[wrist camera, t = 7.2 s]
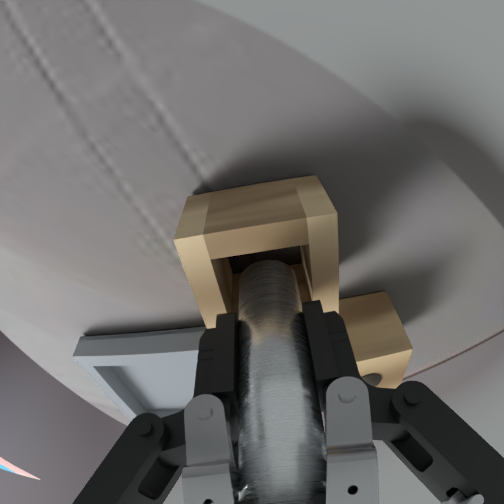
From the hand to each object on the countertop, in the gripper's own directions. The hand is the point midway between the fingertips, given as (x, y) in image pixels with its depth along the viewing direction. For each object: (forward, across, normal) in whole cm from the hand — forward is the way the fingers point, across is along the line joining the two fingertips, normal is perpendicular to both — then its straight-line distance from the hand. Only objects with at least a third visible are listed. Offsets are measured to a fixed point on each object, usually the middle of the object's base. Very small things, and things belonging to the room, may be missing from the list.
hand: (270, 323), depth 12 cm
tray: (+6, +9, +12) cm, 16 cm away
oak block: (+6, 0, 0) cm, 6 cm away
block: (+6, -5, +8) cm, 11 cm away
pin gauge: (+3, 0, 0) cm, 3 cm away
